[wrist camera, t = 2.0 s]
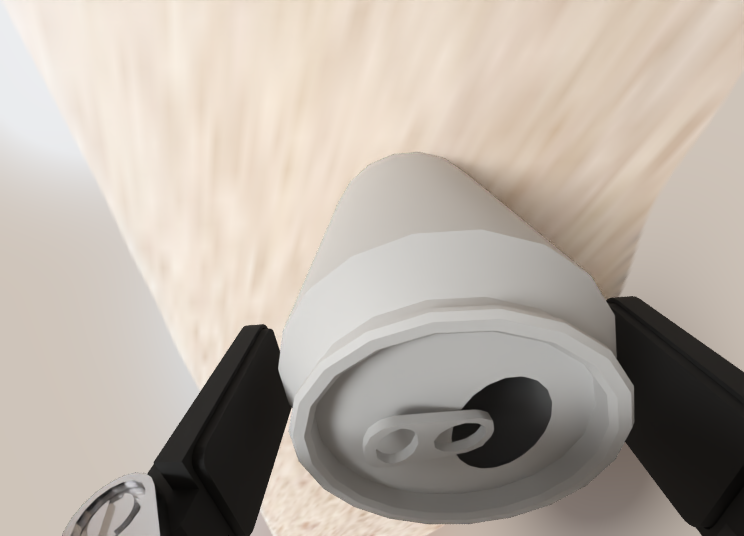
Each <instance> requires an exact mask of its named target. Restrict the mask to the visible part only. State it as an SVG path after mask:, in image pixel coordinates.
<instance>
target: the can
mask: <svg viewBox="0 0 744 536" xmlns="http://www.w3.org/2000/svg"><path fill="white" fill-rule="evenodd" d="M616 357H617V352H616V331H615V315H614V313H613V312H612V310H611V308H610V307H609V305H608V303H607V302H606V300H605V298H604V297H603V295H602V293H601V291H600V290H599V288H598V286H597V285H596V283H595V281H594V280H593V278H592V276H591V275H590V274H588V273H587V272H586V271H585V270H583V269H582V268H581V267H580V266H579V265H577V264H576V263H575V262H574V261H572V260H571V259H570V258H569V257H568V256H566V255H565V254H564V253H563V252H561V251H560V250H559V249H558V248H557V247H555V246H554V245H553V244H552V243H550V242H549V241H548V240H547V239H546V238H544V237H543V236H542V235H541V234H540V233H538V232H537V231H536V230H535V229H533V228H532V227H531V226H530V225H529V224H527V223H526V222H525V221H524V220H522V219H521V218H520V217H519V216H518V215H516V214H515V213H514V212H513V211H511V210H510V209H509V208H508V207H507V206H505V205H504V204H503V203H502V202H500V201H499V200H498V199H497V198H496V197H494V196H493V195H492V194H491V193H489V192H488V191H487V190H486V189H485V188H483V187H482V186H481V185H480V184H478V183H477V182H476V181H475V180H474V179H472V178H471V177H470V176H469V175H467V174H466V173H465V172H464V171H462V170H461V169H459V168H458V167H456V166H455V165H453V164H452V163H451V162H449V161H448V160H446V159H445V158H441V157H437V156H433V155H429V154H425V153H422V152H414V153H401V154H392V155H390V156H388V157H386V158H383V159H381V160H379V161H376V162H374V163H372V164H369V165H368V166H367V167H366V168H365V169H364V170H362V171H361V172H360V173H359V174H358V175H357V176H356V177H355V178H353V179H352V180H351V181H350V183H349V184H348V186H347V188H346V190H345V191H344V193H343V195H342V197H341V198H340V200H339V202H338V204H337V206H336V209H335V211H334V213H333V216H332V218H331V220H330V223H329V225H328V227H327V230H326V232H325V234H324V237H323V239H322V241H321V244H320V246H319V248H318V251H317V253H316V255H315V257H314V260H313V262H312V264H311V267H310V269H309V271H308V274H307V276H306V278H305V281H304V283H303V285H302V288H301V290H300V292H299V295H298V297H297V299H296V302H295V304H294V306H293V309H292V311H291V313H290V315H289V318H288V320H287V322H286V325H285V327H284V329H283V334H282V342H281V350H280V358H279V366H278V370H279V374H280V377H281V380H282V383H283V386H284V389H285V393H286V396H287V399H288V402H289V404H290V406H291V407H292V408H293V409H292V414H291V420H290V426H289V433H290V436H291V439H292V442H293V445H294V448H295V451H296V454H297V457H298V460H299V462H300V463H301V464H302V465H303V466H304V467H305V469H306V470H307V471H308V472H309V473H310V474H311V475H312V476H313V477H314V479H315V480H316V481H317V482H318V483H319V484H320V485H321V486H322V487H323V488H324V489H325V490H327V491H328V492H330V493H332V494H333V495H335V496H337V497H338V498H340V499H342V500H343V501H345V502H347V503H348V504H350V505H352V506H353V507H356V508H359V509H362V510H365V511H368V512H371V513H374V514H377V515H380V516H383V517H386V518H390V519H396V520H403V521H410V522H417V523H424V524H472V523H479V522H485V521H491V520H498V519H504V518H511V517H514V516H517V515H520V514H523V513H527V512H529V511H532V510H536V509H539V508H542V507H545V506H548V505H551V504H553V503H555V502H557V501H559V500H561V499H562V498H564V497H566V496H568V495H570V494H572V493H574V492H575V491H577V490H579V489H581V488H583V487H585V486H586V485H588V484H589V483H590V482H591V481H592V480H593V479H594V478H595V477H597V476H598V475H599V474H600V473H601V472H602V471H603V470H604V469H605V468H606V467H608V465H610V464H611V463H612V462H613V461H614V460H615V459H616V457H617V455H618V453H619V452H620V450H621V448H622V446H623V444H624V442H625V440H626V438H627V436H628V435H629V433H630V431H631V429H632V427H633V424H634V385H633V384H632V382H631V381H630V379H629V378H628V376H627V375H626V373H625V371H624V370H623V368H622V367H621V365H620V364H619V362H618V361H617V359H616Z"/></svg>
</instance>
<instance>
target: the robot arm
mask: <svg viewBox="0 0 744 536" xmlns="http://www.w3.org/2000/svg"><path fill="white" fill-rule="evenodd" d="M606 302H607V303H608V305H609V307H610V308H611V310H612V312H613V313H614V315H615V331H616V352H617V357H616V359H617V361H618V362H619V364H620V365H621V367H622V368H623V370H624V371H625V373H626V375H627V376H628V378H629V379H630V381H631V382H632V384H633V385H634V424H633V427H632V429H631V431H630V433H629V435H628V436H627V438H626V440H625V442H626V443H627V445H628V446H629V447H630V449H631V450H632V451H633V453H634V454H635V455H636V457H637V458H638V459H639V461H640V462H641V463H642V465H643V466H644V467H645V469H646V470H647V471H648V473H649V474H650V475H651V477H652V478H653V479H654V480H655V482H656V483H657V485H658V486H659V487H660V489H661V490H662V491H663V493H664V494H665V495H666V497H667V498H668V499H669V501H670V502H671V503H672V505H673V506H674V507H675V509H676V510H677V511H678V513H679V514H680V515H681V517H682V518H683V519H684V520H685V521H686V522H687V523H688V524H689V525H691V526H693V527H696V528H697V530H698V531H699V532H700V534H701V535H702V536H744V372H743V371H741V370H740V369H738V368H737V367H736V366H734V365H733V364H731V363H730V362H729V361H727V360H726V359H724V358H723V357H721V356H720V355H719V354H717V353H716V352H714V351H713V350H712V349H710V348H709V347H707V346H706V345H704V344H703V343H702V342H700V341H699V340H697V339H696V338H694V337H693V336H692V335H690V334H689V333H687V332H686V331H685V330H683V329H682V328H680V327H679V326H677V325H676V324H675V323H673V322H672V321H670V320H669V319H668V318H666V317H665V316H663V315H662V314H660V313H659V312H657V311H656V310H655V309H653V308H652V307H650V306H649V305H648V304H646V303H645V302H643V301H642V300H641V299H639V298H637V297H633V296H630V297H617V298H609V299H608V300H607V301H606ZM279 358H280V350H279V347H278V344H277V341H276V338H275V335H274V332H273V330H272V329H268V328H267V326H266V325H264V324H261V325H248V326H244V327H243V328H242V330H241V331H240V333H239V334H238V336H237V337H236V339H235V340H234V342H233V343H232V345H231V346H230V348H229V349H228V351H227V352H226V354H225V355H224V357H223V358H222V360H221V361H220V363H219V364H218V366H217V367H216V369H215V370H214V372H213V373H212V375H211V376H210V378H209V379H208V381H207V382H206V384H205V385H204V387H203V388H202V390H201V391H200V393H199V395H198V396H197V398H196V399H195V401H194V402H193V404H192V405H191V407H190V408H189V410H188V411H187V413H186V414H185V416H184V417H183V419H182V420H181V422H180V423H179V425H178V426H177V428H176V429H175V431H174V432H173V434H172V435H171V437H170V438H169V440H168V441H167V443H166V444H165V446H164V448H163V449H162V451H161V452H160V453H159V455H158V456H157V458H156V459H155V461H154V465H153V466H152V468H151V469H150V471H149V472H148V474H145V473H132V474H128V475H124V476H122V477H120V478H118V479H116V480H114V481H112V482H110V483H109V484H107V485H105V486H104V487H103V488H101V489H100V490H98V491H97V492H96V493H95V494H93V495H92V496H91V497H90V498H89V499H88V500H87V501H86V502H85V503H84V504H83V505H82V506H81V507H80V508H79V510H78V511H77V512H76V513H75V514H74V515H73V517H72V518H71V520H70V521H69V523H68V525H67V526H66V528H65V530H64V531H63V534H62V536H250V534H251V533H252V531H253V529H254V526H255V523H256V520H257V517H258V514H259V510H260V507H261V504H262V501H263V498H264V494H265V491H266V488H267V485H268V482H269V478H270V475H271V472H272V469H273V466H274V462H275V459H276V456H277V453H278V449H279V446H280V443H281V440H282V437H283V433H284V430H285V427H286V424H287V421H288V417H289V414H290V411H291V408H292V407H291V406H290V404H289V402H288V399H287V396H286V393H285V389H284V386H283V383H282V380H281V377H280V374H279V370H278V366H279Z"/></svg>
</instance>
